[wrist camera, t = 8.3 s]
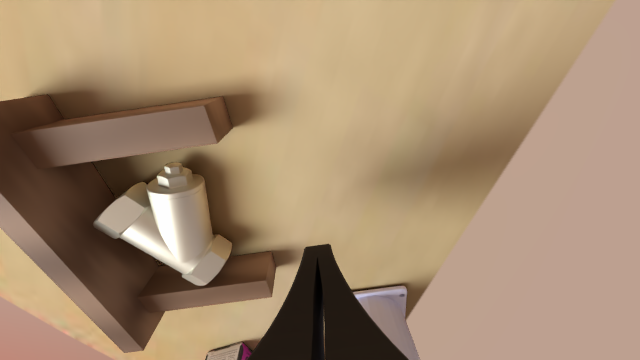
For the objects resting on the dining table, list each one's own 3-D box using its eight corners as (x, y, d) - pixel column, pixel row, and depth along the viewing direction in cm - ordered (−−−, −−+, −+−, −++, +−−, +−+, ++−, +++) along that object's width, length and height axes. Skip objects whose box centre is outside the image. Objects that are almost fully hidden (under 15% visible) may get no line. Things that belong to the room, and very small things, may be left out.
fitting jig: (279, 278, 22) (272, 333, 18) (160, 294, 22) (124, 352, 18) (214, 69, 14) (170, 76, 9) (23, 98, 14) (-109, 117, 9)
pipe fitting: (177, 143, 16) (121, 203, 18) (146, 163, 13) (79, 235, 14) (263, 212, 19) (210, 258, 21) (257, 244, 16) (193, 297, 17)
